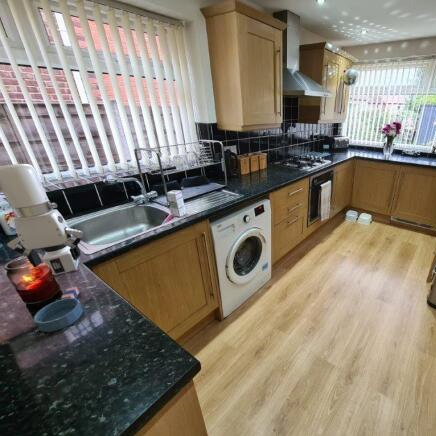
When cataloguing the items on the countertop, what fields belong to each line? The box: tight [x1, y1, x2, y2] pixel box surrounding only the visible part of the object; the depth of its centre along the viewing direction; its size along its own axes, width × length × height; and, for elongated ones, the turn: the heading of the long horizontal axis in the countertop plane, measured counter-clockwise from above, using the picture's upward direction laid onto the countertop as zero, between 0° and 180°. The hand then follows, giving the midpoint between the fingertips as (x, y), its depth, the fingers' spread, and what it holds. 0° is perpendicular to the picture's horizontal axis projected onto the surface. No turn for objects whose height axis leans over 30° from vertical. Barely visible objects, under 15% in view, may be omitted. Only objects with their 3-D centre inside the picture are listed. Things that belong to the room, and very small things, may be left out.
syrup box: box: [166, 189, 186, 218], centre depth 143 cm, size 6×6×14 cm
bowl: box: [33, 298, 84, 333], centre depth 71 cm, size 10×10×4 cm
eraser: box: [60, 286, 80, 300], centre depth 79 cm, size 5×3×3 cm, turn 22°
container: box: [42, 244, 79, 277], centre depth 93 cm, size 8×8×13 cm
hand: (58, 261), depth 75 cm, fingers open, 9 cm apart
